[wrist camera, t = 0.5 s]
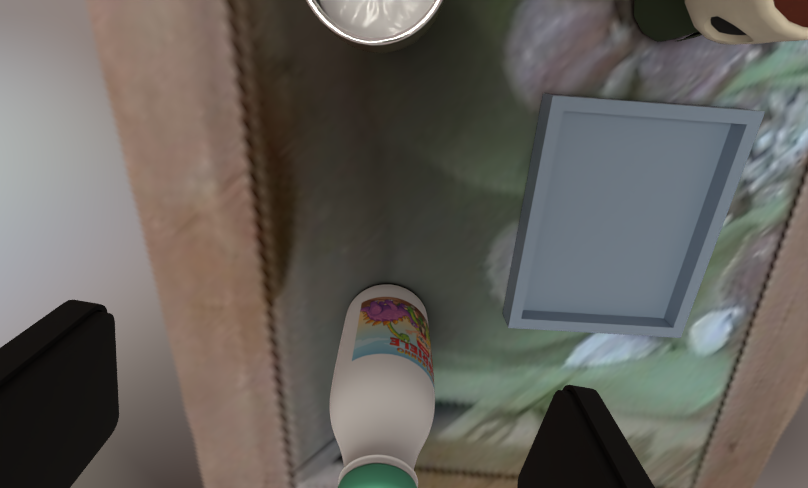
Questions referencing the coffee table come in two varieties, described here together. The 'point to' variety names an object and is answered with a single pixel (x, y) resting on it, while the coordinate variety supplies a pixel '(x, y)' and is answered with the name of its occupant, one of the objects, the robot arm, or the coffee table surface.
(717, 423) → the coffee table surface
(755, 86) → the coffee table surface
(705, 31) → the character mug
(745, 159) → the tray
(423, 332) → the milk bottle
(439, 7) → the beer glass
